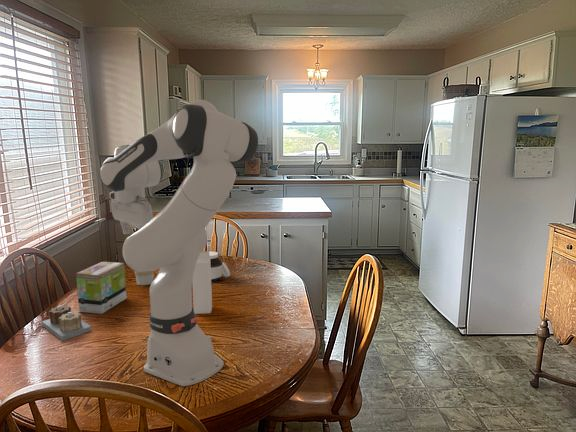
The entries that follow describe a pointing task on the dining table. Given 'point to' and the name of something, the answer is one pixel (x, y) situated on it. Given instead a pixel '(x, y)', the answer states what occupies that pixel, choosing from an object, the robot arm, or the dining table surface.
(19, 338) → the dining table surface
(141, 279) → the coffee cup
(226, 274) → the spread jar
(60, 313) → the walnut gear
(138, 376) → the dining table surface
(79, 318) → the birch gear
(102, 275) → the tea box
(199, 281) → the milk
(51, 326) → the gear board
